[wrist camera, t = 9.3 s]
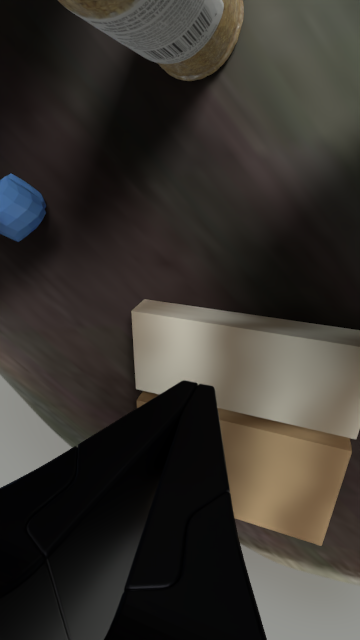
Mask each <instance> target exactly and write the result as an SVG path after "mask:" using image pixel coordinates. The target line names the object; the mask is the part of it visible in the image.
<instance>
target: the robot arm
mask: <svg viewBox="0 0 360 640" xmlns="http://www.w3.org/2000/svg"><path fill="white" fill-rule="evenodd" d="M0 640H267V639H266V635H265V632H264V629H263V625H262V621H261V618H260V615H259V611H258V607H257V604H256V601H255V598H254V594H253V590H252V587H251V583H250V580H249V576H248V573H247V569H246V566H245V562H244V558H243V554H242V550H241V546H240V542H239V538H238V534H237V528H236V523H235V518H234V512H233V506H232V499H231V494H230V487H229V480H228V474H227V467H226V460H225V453H224V447H223V440H222V433H221V427H220V420H219V413H218V406H217V400H216V393H215V388H214V387H213V386H210V385H205V384H199V385H198V384H197V383H196V382H191V381H186V380H183V381H181V382H179V383H177V384H176V385H174V386H173V387H171V388H169V389H168V390H166V391H164V392H163V393H161V394H160V395H158V396H156V397H155V398H153V399H151V400H150V401H148V402H147V403H145V404H143V405H142V406H140V407H138V408H137V409H135V410H133V411H132V412H130V413H129V414H127V415H125V416H124V417H122V418H120V419H119V420H117V421H116V422H114V423H112V424H111V425H109V426H107V427H106V428H104V429H103V430H101V431H99V432H98V433H96V434H94V435H93V436H91V437H90V438H88V439H86V440H85V441H83V442H81V443H80V444H78V448H77V447H76V446H75V447H73V448H71V449H70V450H69V451H67V452H65V453H63V454H62V455H60V456H58V457H57V458H55V459H53V460H52V461H50V462H48V463H46V464H45V465H43V466H41V467H39V468H38V469H36V470H34V471H32V472H30V473H28V474H26V475H25V476H23V477H21V478H19V479H17V480H15V481H13V482H11V483H9V484H7V485H6V486H3V487H1V488H0Z"/></svg>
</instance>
